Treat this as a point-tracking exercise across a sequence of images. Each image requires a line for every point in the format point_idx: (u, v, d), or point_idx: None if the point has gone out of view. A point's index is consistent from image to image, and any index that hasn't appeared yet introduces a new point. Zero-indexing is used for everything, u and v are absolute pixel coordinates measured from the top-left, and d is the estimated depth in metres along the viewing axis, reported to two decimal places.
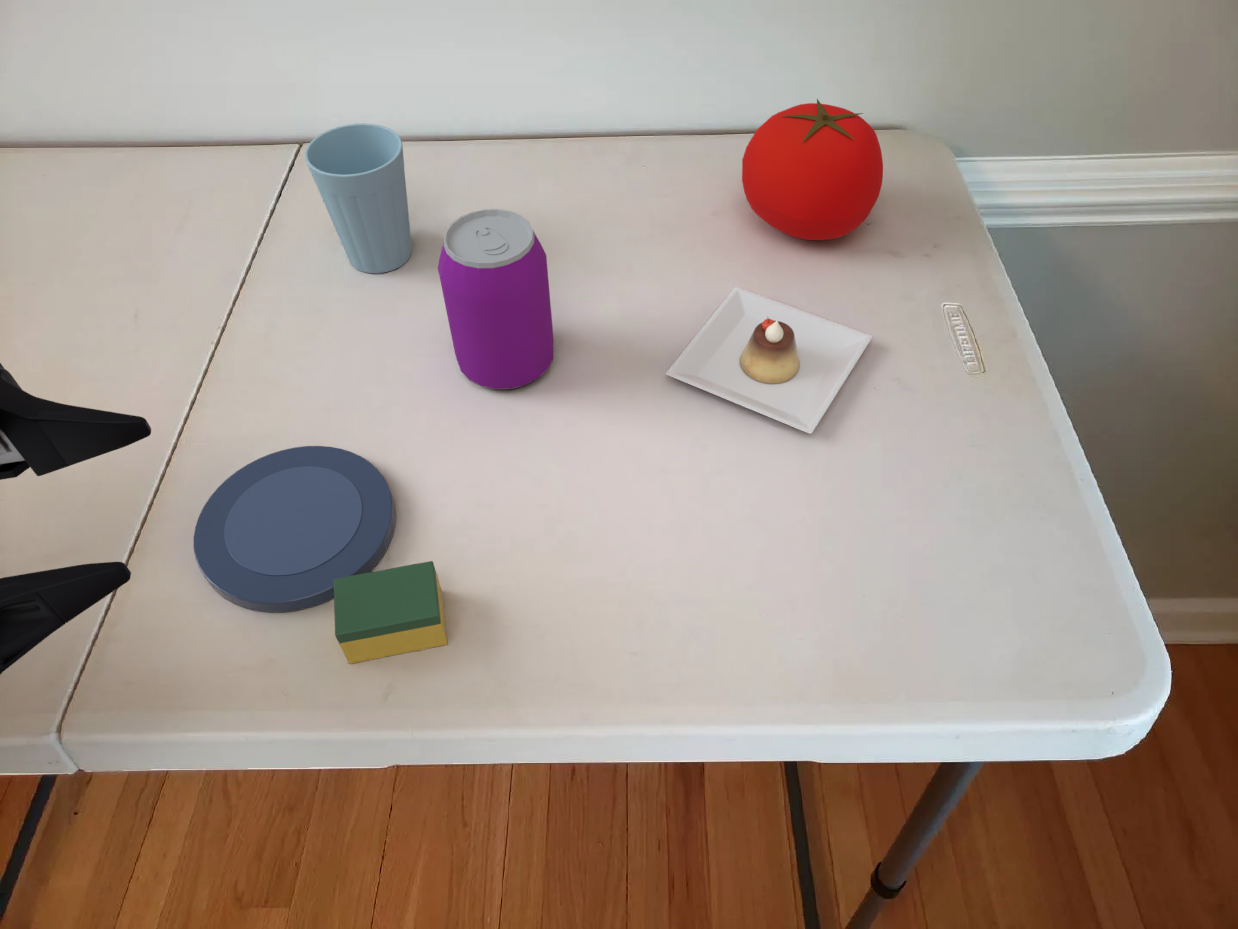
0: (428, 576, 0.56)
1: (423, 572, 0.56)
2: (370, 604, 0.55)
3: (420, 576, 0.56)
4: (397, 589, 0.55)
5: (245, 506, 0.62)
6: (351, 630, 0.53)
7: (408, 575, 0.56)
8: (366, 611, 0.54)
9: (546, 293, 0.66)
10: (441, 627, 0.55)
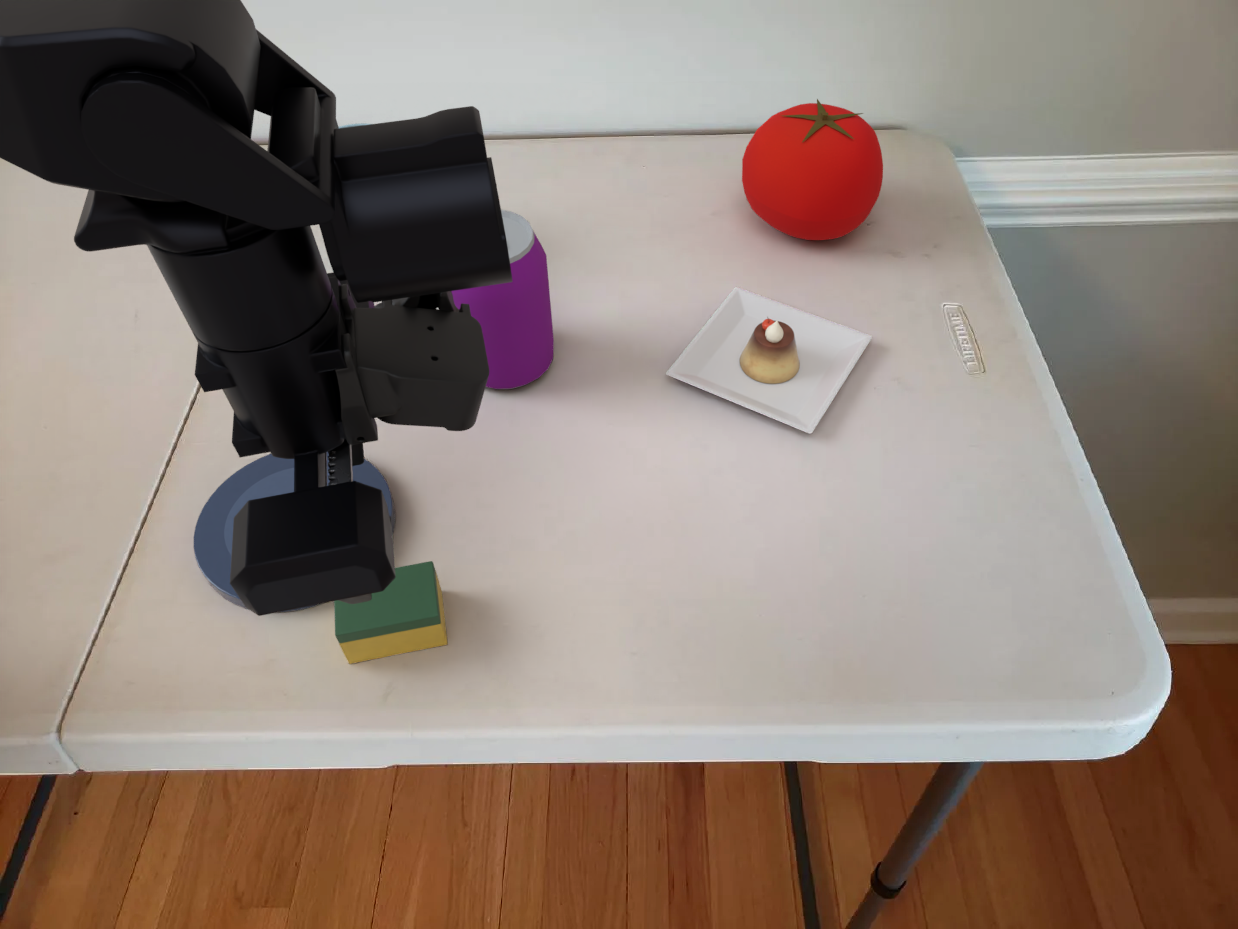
0: (428, 576, 0.56)
1: (423, 572, 0.56)
2: (370, 604, 0.55)
3: (420, 576, 0.56)
4: (397, 589, 0.55)
5: None
6: (351, 630, 0.53)
7: (408, 575, 0.56)
8: (366, 611, 0.54)
9: (546, 293, 0.66)
10: (441, 627, 0.55)
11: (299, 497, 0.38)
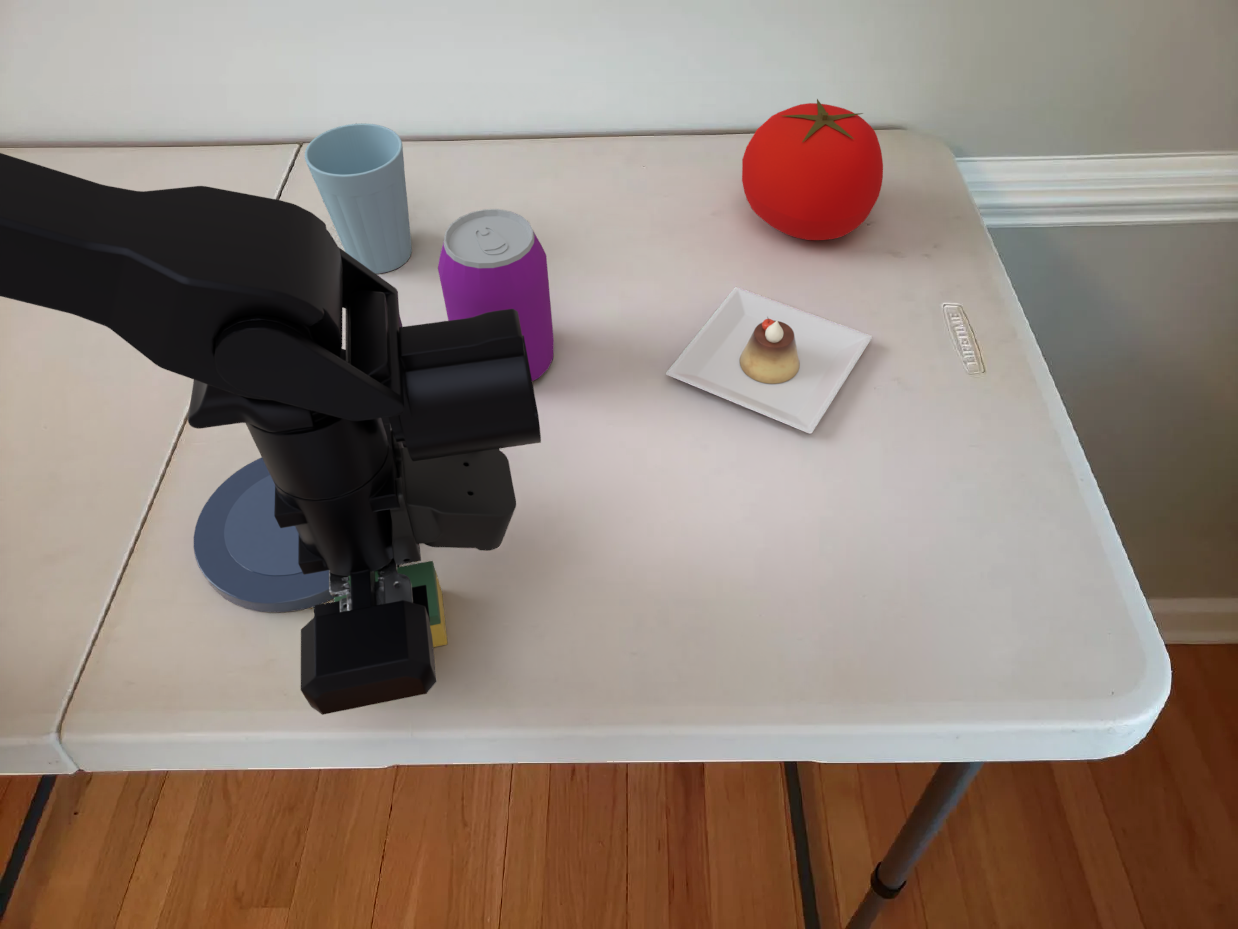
0: (428, 576, 0.56)
1: (423, 572, 0.56)
2: None
3: (420, 576, 0.56)
4: None
5: (245, 506, 0.62)
6: None
7: (408, 575, 0.56)
8: None
9: (546, 293, 0.66)
10: (441, 627, 0.55)
11: (357, 614, 0.45)
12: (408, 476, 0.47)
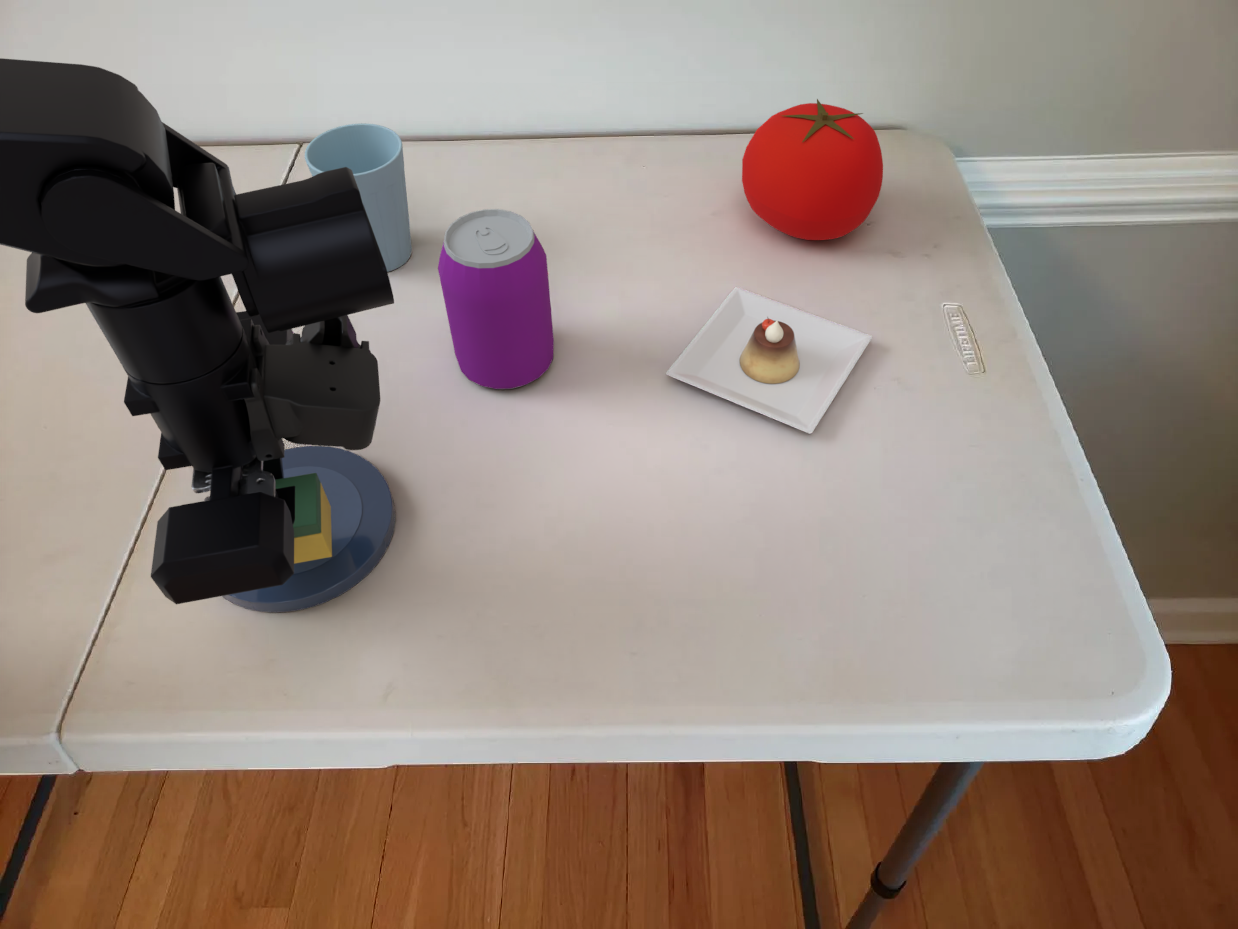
0: (310, 487, 0.56)
1: (305, 483, 0.56)
2: None
3: (302, 487, 0.56)
4: None
5: None
6: None
7: None
8: None
9: (546, 293, 0.66)
10: (322, 537, 0.55)
11: (212, 505, 0.45)
12: (269, 370, 0.47)
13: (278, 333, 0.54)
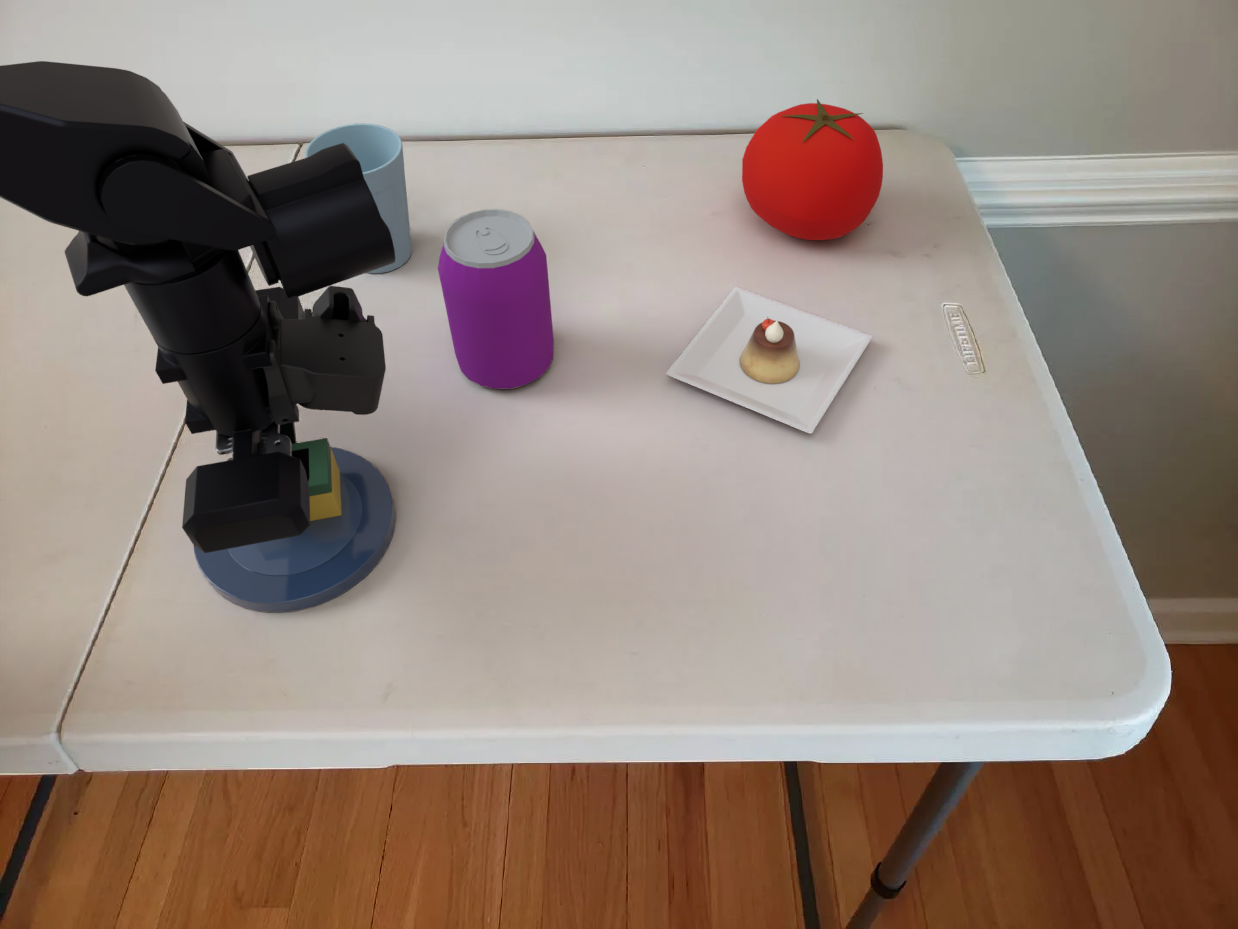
0: (321, 450, 0.61)
1: (317, 447, 0.61)
2: None
3: (314, 450, 0.61)
4: None
5: None
6: None
7: None
8: None
9: (546, 293, 0.66)
10: (333, 496, 0.60)
11: (236, 464, 0.50)
12: (284, 342, 0.52)
13: (290, 310, 0.59)
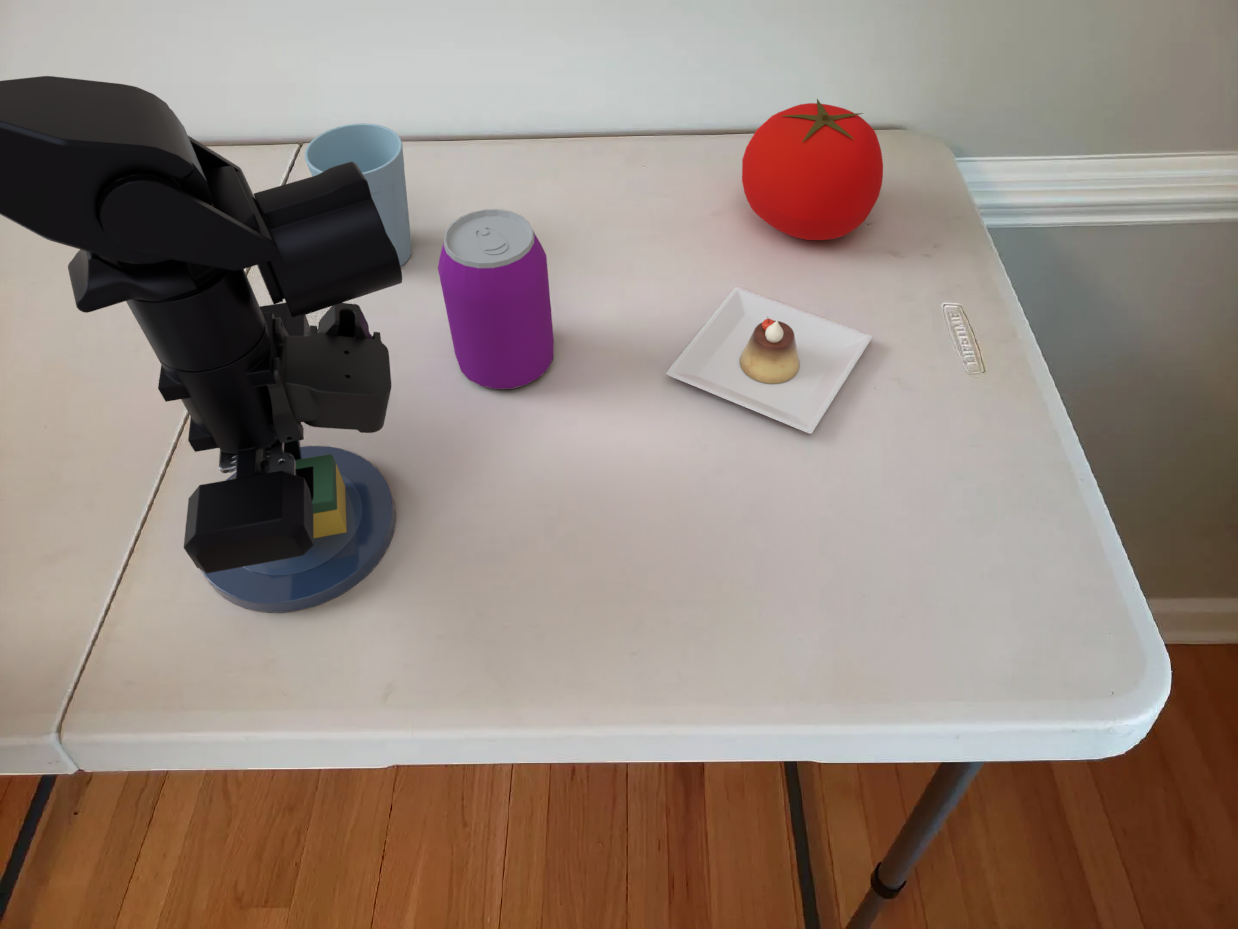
0: (327, 466, 0.60)
1: (322, 463, 0.60)
2: None
3: (319, 466, 0.60)
4: None
5: None
6: None
7: (308, 466, 0.60)
8: None
9: (546, 293, 0.66)
10: (338, 513, 0.59)
11: (239, 483, 0.49)
12: (289, 359, 0.51)
13: (296, 326, 0.58)
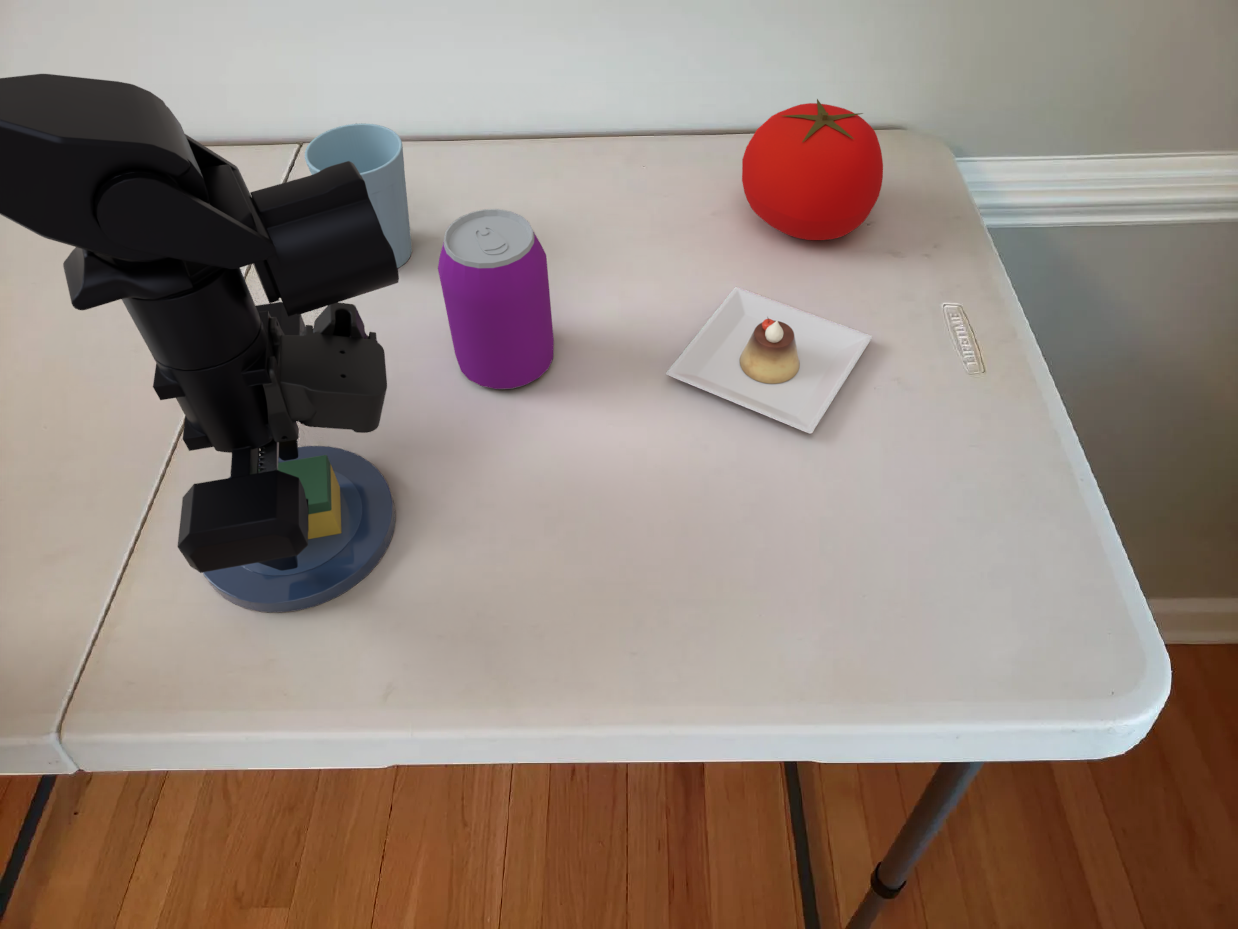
0: (321, 467, 0.60)
1: (317, 464, 0.60)
2: None
3: (314, 467, 0.60)
4: None
5: None
6: None
7: (303, 467, 0.60)
8: None
9: (546, 293, 0.66)
10: (332, 514, 0.59)
11: (233, 482, 0.49)
12: (284, 359, 0.51)
13: (291, 325, 0.58)
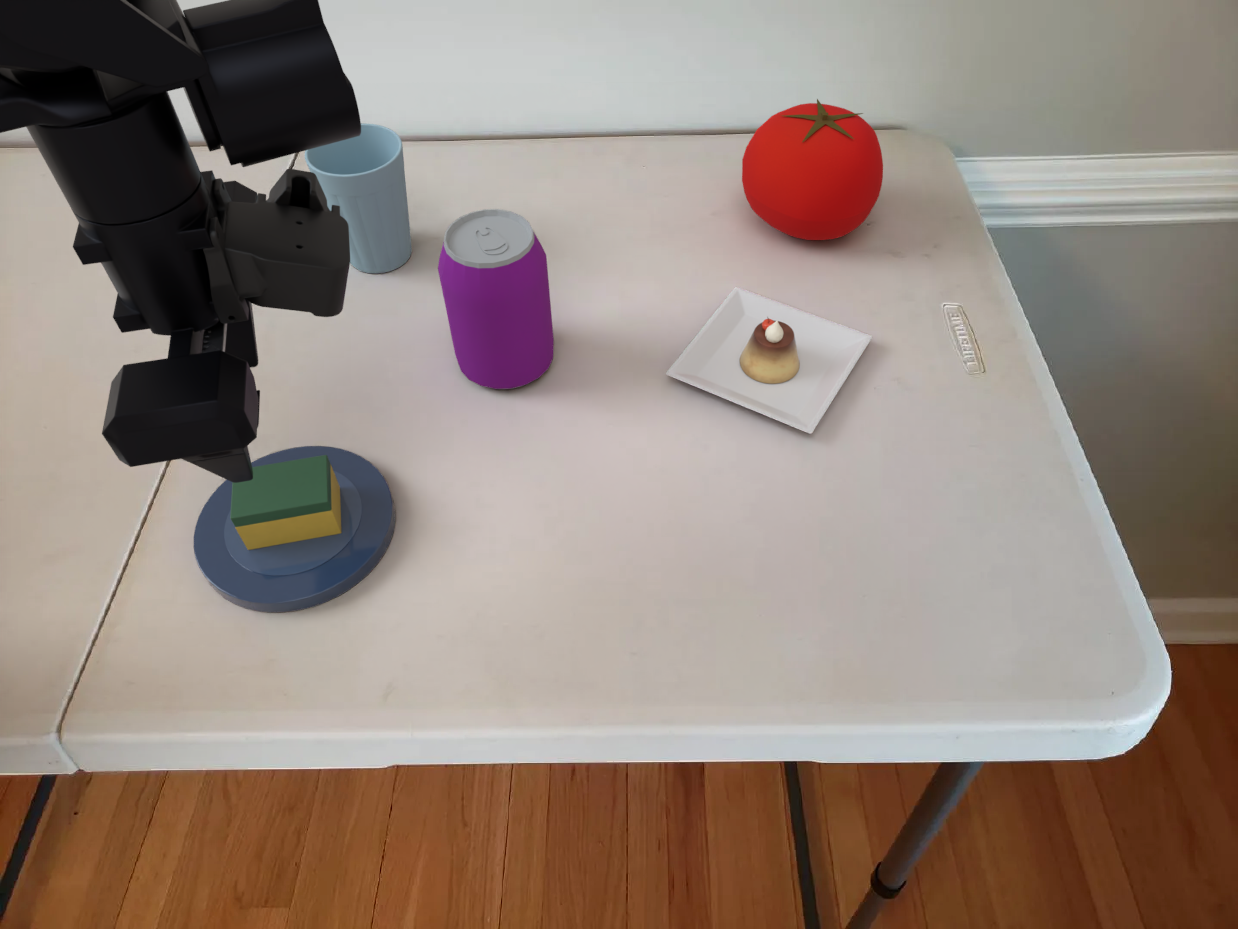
0: (321, 467, 0.60)
1: (317, 464, 0.60)
2: (265, 491, 0.58)
3: (314, 467, 0.60)
4: (291, 479, 0.59)
5: None
6: (245, 513, 0.57)
7: (303, 467, 0.60)
8: (261, 497, 0.58)
9: (546, 293, 0.66)
10: (332, 514, 0.59)
11: (169, 362, 0.43)
12: (230, 225, 0.44)
13: None
